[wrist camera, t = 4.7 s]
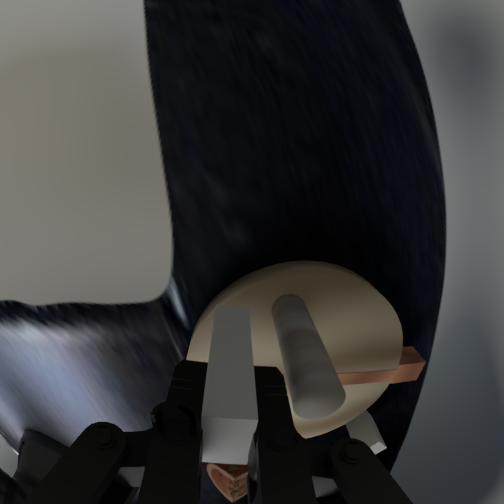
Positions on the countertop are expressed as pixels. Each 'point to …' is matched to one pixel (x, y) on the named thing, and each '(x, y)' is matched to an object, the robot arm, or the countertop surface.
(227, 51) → the countertop surface
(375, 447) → the grey rectangular block
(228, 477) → the fruit slice
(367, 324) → the beige round piece
